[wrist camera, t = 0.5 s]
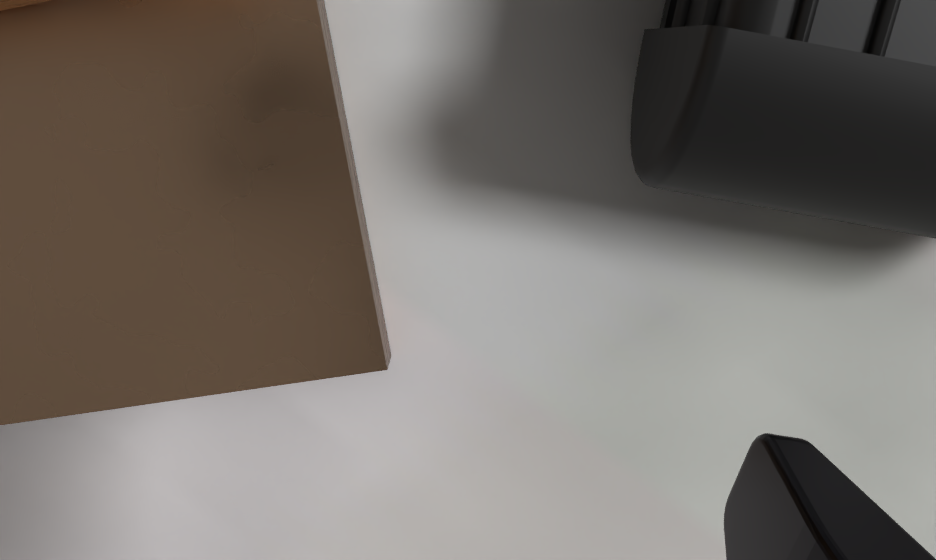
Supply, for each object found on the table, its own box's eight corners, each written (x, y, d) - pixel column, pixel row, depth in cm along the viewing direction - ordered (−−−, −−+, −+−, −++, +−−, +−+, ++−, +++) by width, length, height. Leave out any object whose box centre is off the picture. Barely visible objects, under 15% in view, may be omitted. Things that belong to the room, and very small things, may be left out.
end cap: (608, 159, 21) (666, 211, 15) (678, -156, 20) (779, -257, 13) (1006, 231, 22) (1234, 313, 15) (1110, -72, 20) (1422, -129, 13)
